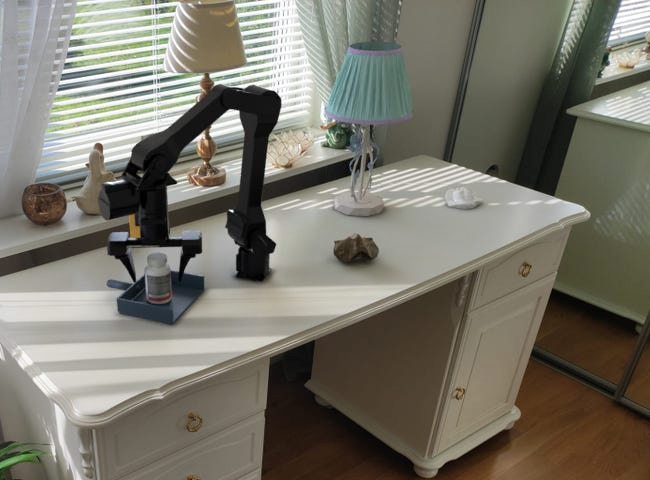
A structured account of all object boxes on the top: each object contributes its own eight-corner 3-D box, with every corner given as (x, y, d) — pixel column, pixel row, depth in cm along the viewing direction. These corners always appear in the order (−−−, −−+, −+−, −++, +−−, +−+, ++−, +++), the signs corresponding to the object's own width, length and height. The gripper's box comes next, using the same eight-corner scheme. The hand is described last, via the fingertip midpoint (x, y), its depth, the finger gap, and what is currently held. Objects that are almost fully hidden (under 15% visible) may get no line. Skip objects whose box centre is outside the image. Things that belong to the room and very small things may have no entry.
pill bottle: (176, 300, 149) (175, 257, 144) (154, 307, 147) (152, 264, 141) (163, 290, 153) (161, 248, 147) (141, 297, 150) (138, 254, 145)
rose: (441, 180, 194) (478, 180, 194) (439, 196, 196) (474, 195, 196) (452, 193, 186) (490, 193, 185) (449, 210, 188) (487, 209, 188)
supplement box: (148, 240, 176) (145, 201, 171) (142, 246, 173) (140, 206, 168) (135, 239, 177) (132, 200, 172) (130, 244, 174) (127, 205, 169)
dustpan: (204, 290, 153) (204, 276, 151) (172, 324, 141) (171, 309, 139) (125, 275, 160) (124, 261, 158) (88, 307, 148) (86, 292, 146)
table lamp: (339, 188, 204) (352, 36, 182) (412, 202, 193) (436, 42, 171) (303, 212, 189) (312, 49, 168) (380, 229, 179) (401, 58, 157)
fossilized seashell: (377, 241, 166) (334, 245, 168) (377, 224, 160) (331, 229, 163) (380, 268, 163) (335, 272, 165) (379, 251, 157) (333, 256, 159)
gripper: (201, 193, 145) (202, 263, 154) (109, 195, 146) (116, 265, 154) (201, 214, 136) (202, 287, 145) (103, 216, 136) (110, 289, 145)
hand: (157, 281), depth 147 cm, fingers open, 9 cm apart
